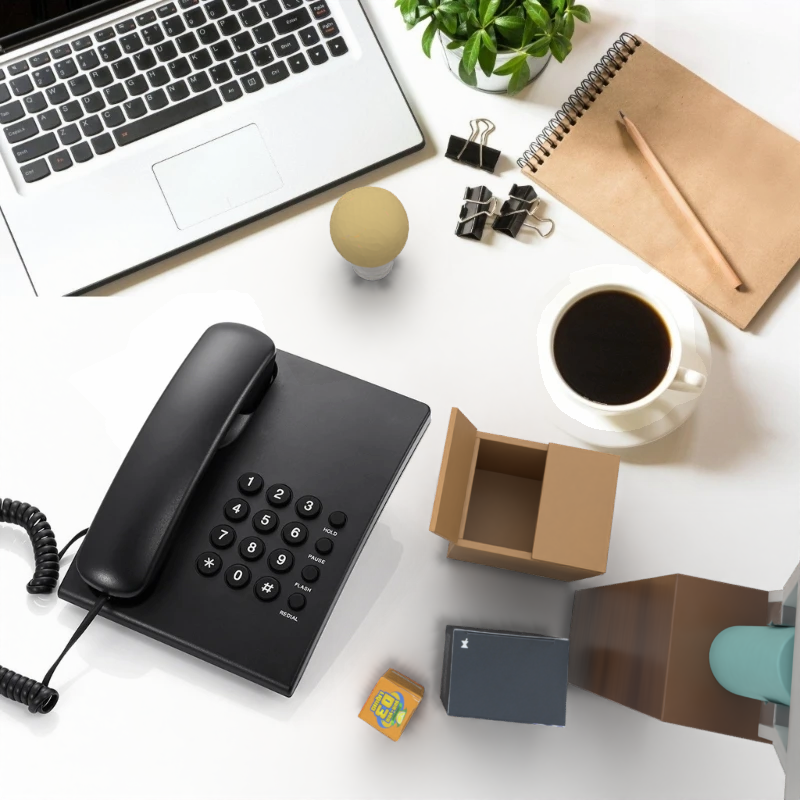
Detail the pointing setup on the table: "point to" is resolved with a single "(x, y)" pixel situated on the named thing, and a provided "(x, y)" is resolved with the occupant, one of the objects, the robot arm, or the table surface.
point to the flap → (453, 477)
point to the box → (505, 676)
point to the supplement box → (392, 704)
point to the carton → (537, 508)
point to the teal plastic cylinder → (755, 661)
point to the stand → (665, 649)
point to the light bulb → (369, 230)
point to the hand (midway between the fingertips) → (780, 664)
